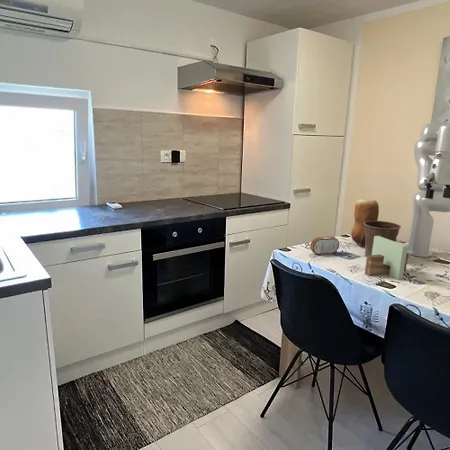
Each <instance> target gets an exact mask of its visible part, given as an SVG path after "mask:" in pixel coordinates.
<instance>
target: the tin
mask: <svg viewBox="0 0 450 450" xmlns="http://www.w3.org/2000/svg"><path fill="white" fill-rule="evenodd" d="M339 247H340V241H339V239H337V238H336V237H335V236H332V235H331V236H317V237H315V238H313V239H312V240H311V243H310V250H311V252H312V253H314V254H315V255H331V254H334V253H337V251H338V250H339Z"/></svg>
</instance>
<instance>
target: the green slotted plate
mask: <svg viewBox="0 0 450 450" xmlns="http://www.w3.org/2000/svg"><path fill="white" fill-rule="evenodd" d="M407 248H408V245H406V244H403V243H400V242H397V241H396V242H395V241H392V240H389V239H386V238H383V237H381V236H374V242H373V249H372V255H379V254H380V255H383V256H384V261H383V263H384V264H386V265H389V266H390V273H388V275H389V276H390V277H392V278H394V279H396V280H403V279H404V273H405V271H404V267H405V260H406V254H407Z"/></svg>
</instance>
